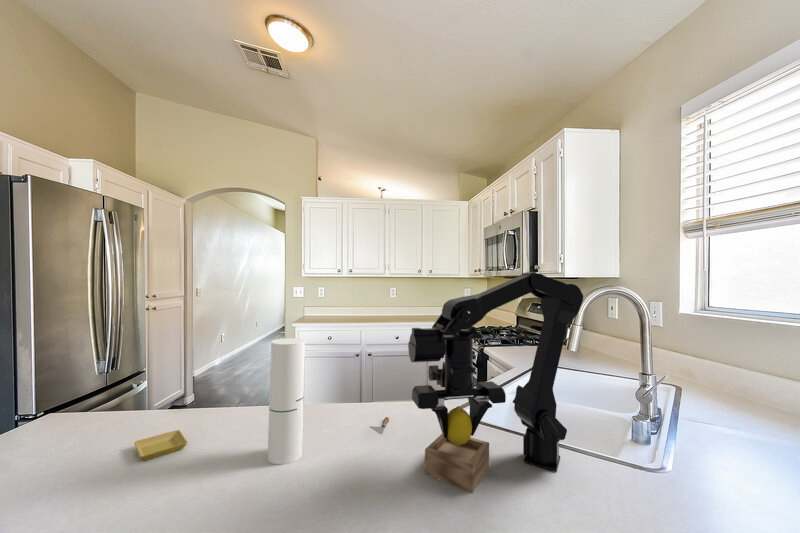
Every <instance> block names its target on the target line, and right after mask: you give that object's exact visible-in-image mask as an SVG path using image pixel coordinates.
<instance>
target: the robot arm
mask: <svg viewBox="0 0 800 533" xmlns="http://www.w3.org/2000/svg"><path fill="white" fill-rule="evenodd" d="M529 294H531V295H532V296H534V297H536V298H538V299H540V310H541V313H542V316H543V321H542V326H541V330H540V335H539V337H538V338H539V339H538V343H537V347H536V351H535V353H534V354H535V356H534V359H533V364H532V368H531V371H530V376H529V379H528V381H527V382H526V384H524V385H523V386H521V385H517V386H516V389H515V396H514V399H513V401H512V404H514V407H513V409H514V412H515V414H516V416H517V417H518V418H519V419H520V422H521V425H523V426H525V427H526V430H525V432H524V435H523V436H522V437H523V439H522V441H523V446H522V447H523V450H522V451H523V456H524V458H523V462H524V463H527V464H530V465H533V466H536V467H540V468H544V469H546V470H550V471H553V472H557V471H558V469H559V466H560V465H559V464H560V461H561V456H560V451H559V450H560V447H559V446H560V441H564V440H565V439H566V437H567V433H568V432H567V431H568V429H567V428H566V427H565V426H564V425H563V423H561V422H560V421H559V419H558V418H557V407H558V406H557V401H556V398H555V393H554V385H555V381H556V376H557V372H558V367H559V364H560V358H561V354H562V351H563V346H564V342H565V339H566V338H565V337H566V334H567V330H568V326H569V324H570V323H571V322H572V321H573V320H574V319H575V318H576V317H577V316H578V314H579V312H580V309H581V307H582V304H583V302H584V293H583V292H582V290H581V288H580V287H579V286H578V285H577V284H573V283H565V282H563V281H559V280H557V279H554V278H551V277H548V276H546V275H544V274H541V273H539V272H537V271H532V272H530V271H529V272H522V273H521V274H520V275H518V276H516V277H514V278H512V279H509V280H507V281H505V282H503V283H501V284H498V285H496V286H494V287H491V288H489V289H487V290H484V291H482V292H480V293H477V294H473V295H465V296H461V297H456V298H455V297H454V298H451V299H449V300H447V301H445V303H444V304H443V306H442V309H441V313H440V315H439V316H438V318H437V319H436V321H435V322H434V324H433V325H432V327H431V328H420V327H412V328H411V334H410V336H409V341H408V342H407V343H408V346H407V347H408V348H407V350H408V357H409V359H410V362H411V363H425V362H427V363H428V362H431V363H432V362H440V361H441V359H444V361H442V368H440V367H439V364H438V365H437V364H436V365H429V366H428V372H427V373H428V380H429V382H431V381H432V382H433V381H435V382H436V385H437V386H439V385H440V387H441V388H444V389H435V388H434V387H433V386H432V385H431V384H426V385H414V386H413V389H412V390H411V399H412V401H413V403H414V404H415V406H416V407H417V408H418V409H420V410H429V409H430V410H431V411H432V412H434V413H435V415H436V418H437V422H438V424H439V427H440V430H441V434H443V437H444V438H445V439H446V438H447V433H448V413H449V410H448V407H447V406H446V405H445V400H463V399H467V400H468V404H469V413H468V414H469V416H470V419H471V423H472V433H471V437H472V436H474V435H475V433H476V431H477V429H478V428H479V425H480V424H481V420H482V419H483V417H484V416H485V415H486V413H487V411H488V410H489V408H490V409H492V407H493V405H494V404H503V403H504V404H505V403H506V400H507V399H506V397H507V396H506V394H507V393H506V392H505V389H504V388H503V387H501V386H500V385H499V384H497V383H495V382H494V381H492V380H491V381H490V380H489V381H478V382H477V383H476V384H475V387H474V386H473V379H474V377H473V374H475V373H476V367H474V365H473V362H474V360H473V358H474V357H473V356H474V355H473V354H474V352H473V351H474V350H473V349H474V348H473V343H474V342H473V340H480V339H481V340H482V339H483V337H484V336H483V335H482V334H481V332H479V331H478V330H477V328H476V327H475V325H476V324H477V323H479V322H481V321H482V320H483V319H484V318H485V317H486V315H488V313H490V312H491V311H493V310H495V309H498V308H500V307H502V306H504V305H507V304H508V303H511V302H513V301H515V300H517V299H520V298H522V297H524V296H525V295H529Z"/></svg>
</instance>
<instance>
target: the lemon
mask: <svg viewBox="0 0 800 533" xmlns="http://www.w3.org/2000/svg"><path fill="white" fill-rule="evenodd" d="M471 433H472V423H471V419H470V416H469V413H468V412H467V411H466V410H465V409H463V408H461V406H456V407H455V408H452V409H451V410H448V433H447V437H448V439H449V440H450V441H451V442H452V443H454V444H455V445H456V446H458V447H459V446H461V445H462V444H465V443H466V442H467V441H468V440H469V439H470V437H471V438H472V436H471Z"/></svg>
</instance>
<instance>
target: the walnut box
mask: <svg viewBox="0 0 800 533" xmlns="http://www.w3.org/2000/svg"><path fill="white" fill-rule="evenodd" d="M489 468H490V442H488V441H485V440H481V439H478V438H473V437H472V436H471V437H470V439H469V440H468V441H467V442H466V443H465V444H462V445H461V446H459V447H458V446H456V445H455V444H454V443H452V442H451V441H450V440H449V439H448V437H447V438H446V439H445V438H444V437H443V434H442V433H441V434H440V435H439V436H438V437H437V438H436V439H435V440H433V441H432V442H431V443H430V444H429V445H428V446H426V448H425V449H424V475H425V476H427V475H428V476H427V477H430V476H431V477H430V478H433V477H434V478H433V479H435V478H436V480H438V479H439V480H438V481H440V482H441V481H442V482H443V481H444V483H446V484H448V483H449V484H448V485H451V486H454V487H455V488H456V487H457V488H460V489H462V490H464V491H468V492H470V493H474V491H475V490H476V488H477V487H478V485H479V483H480V482H481V480H482V479H483V477H484V476H485V474H486V473H487V471H488V469H489Z"/></svg>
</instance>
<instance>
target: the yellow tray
mask: <svg viewBox="0 0 800 533" xmlns="http://www.w3.org/2000/svg"><path fill="white" fill-rule="evenodd" d="M187 445H188V440H187V439H186V437H185V436H184V435H183V433H182V432H181V430H180V429H176V430H173V431H168V432H164V433H161V434H158V435H154V436H150V437H147V438H143V439H139V440H137V441H134V446H135V447H136V451H137V454H138V456H139V458H140V460H142V461H144V462H148V461H150V460H154V459H156V458H159V457H163V456H167V455H169V454H174V453H176V452H179V451H182V450H183V449H184V448H185V447H186V446H187Z"/></svg>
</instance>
